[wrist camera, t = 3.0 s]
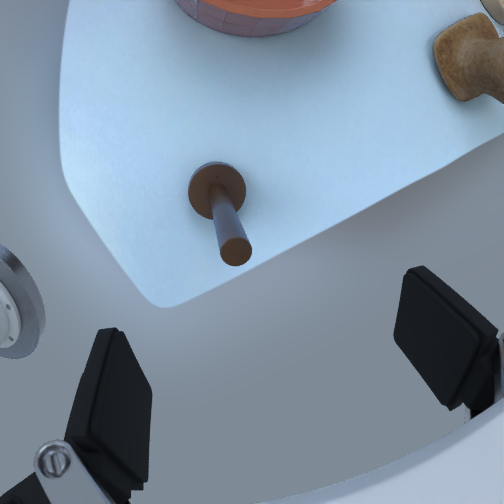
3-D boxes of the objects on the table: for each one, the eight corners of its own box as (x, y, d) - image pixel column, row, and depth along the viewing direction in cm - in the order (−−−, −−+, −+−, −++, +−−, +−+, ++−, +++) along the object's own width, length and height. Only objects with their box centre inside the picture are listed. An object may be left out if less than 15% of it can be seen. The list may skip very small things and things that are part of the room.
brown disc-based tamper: (193, 219, 29) (195, 304, 16) (184, 167, 27) (173, 212, 14) (246, 209, 30) (290, 286, 17) (239, 157, 27) (282, 193, 14)
